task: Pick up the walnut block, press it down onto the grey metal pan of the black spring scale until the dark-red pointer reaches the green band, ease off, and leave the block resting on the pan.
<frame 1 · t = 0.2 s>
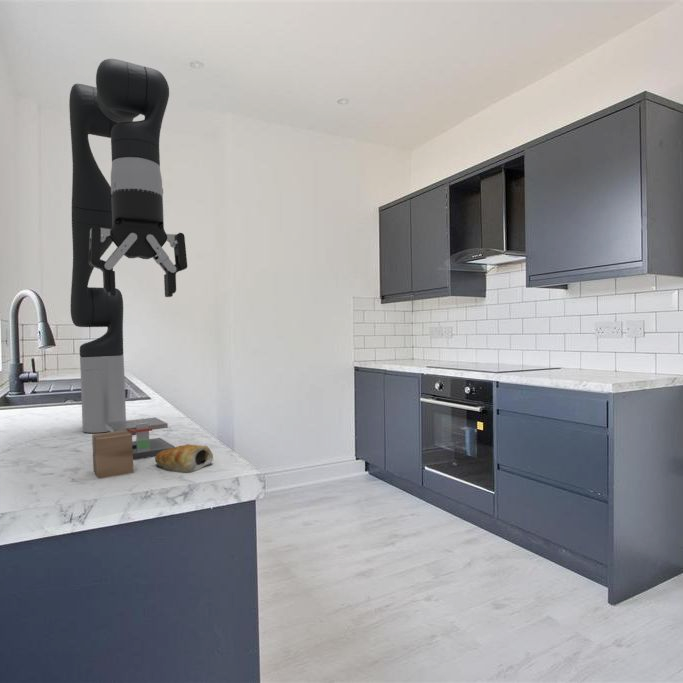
hand: (141, 296, 78), 28 cm above the countertop, tool pointing down, fingers open, 8 cm apart
pastry: (184, 469, 80), on the countertop
walnut block: (113, 472, 77), on the countertop
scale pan: (137, 429, 90), point 4 cm above the countertop, slide at 0.4 cm
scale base: (137, 452, 91), on the countertop
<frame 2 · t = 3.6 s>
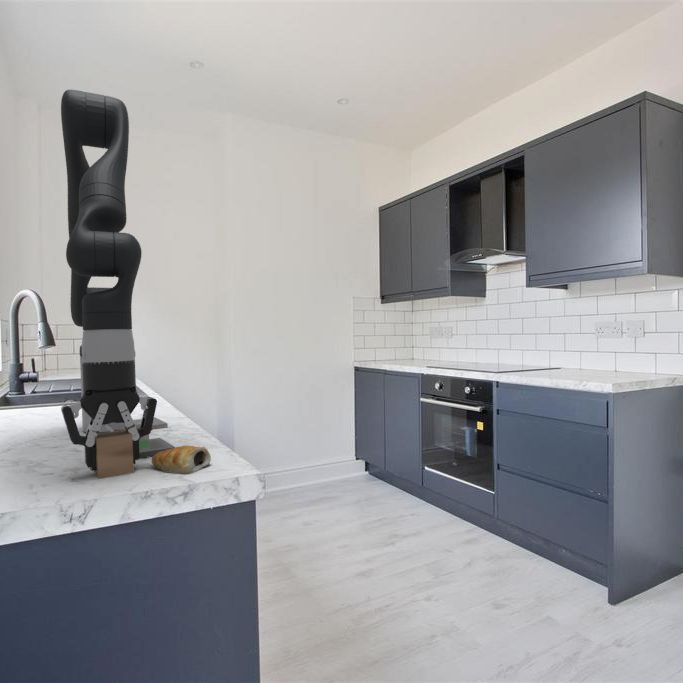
hand: (113, 465, 77), 1 cm above the countertop, tool pointing down, fingers closed on walnut block, 5 cm apart
walnut block: (113, 471, 77), on the countertop, touching gripper
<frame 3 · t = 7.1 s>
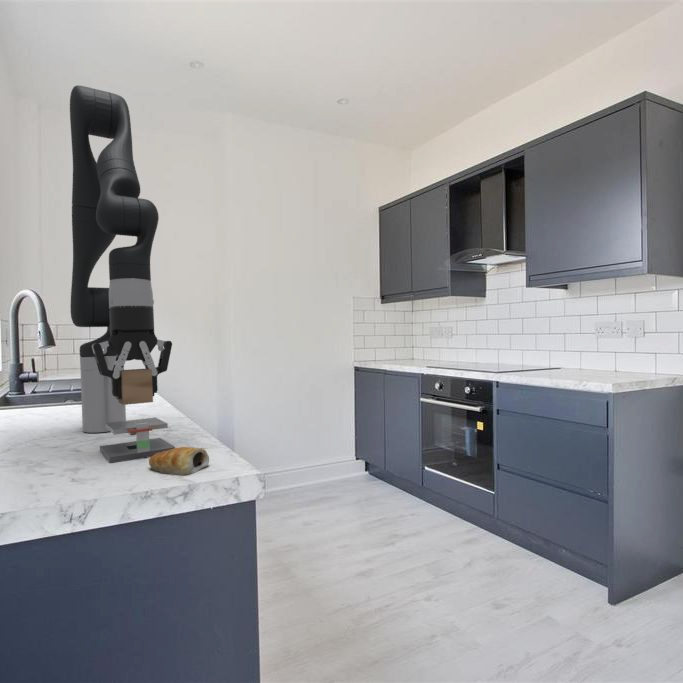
hand: (135, 397, 90), 10 cm above the countertop, tool pointing down, fingers closed on walnut block, 5 cm apart
walnut block: (135, 402, 90), point 9 cm above the countertop, touching gripper
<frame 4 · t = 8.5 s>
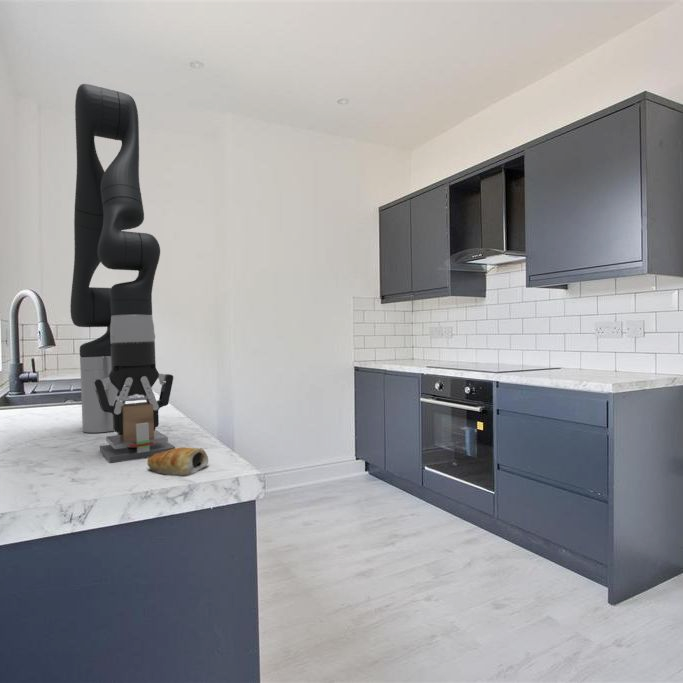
hand: (136, 431, 91), 4 cm above the countertop, tool pointing down, fingers closed on walnut block, 5 cm apart
walnut block: (136, 436, 91), point 3 cm above the countertop, touching gripper, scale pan
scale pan: (137, 442, 90), point 2 cm above the countertop, slide at 2.9 cm, touching walnut block
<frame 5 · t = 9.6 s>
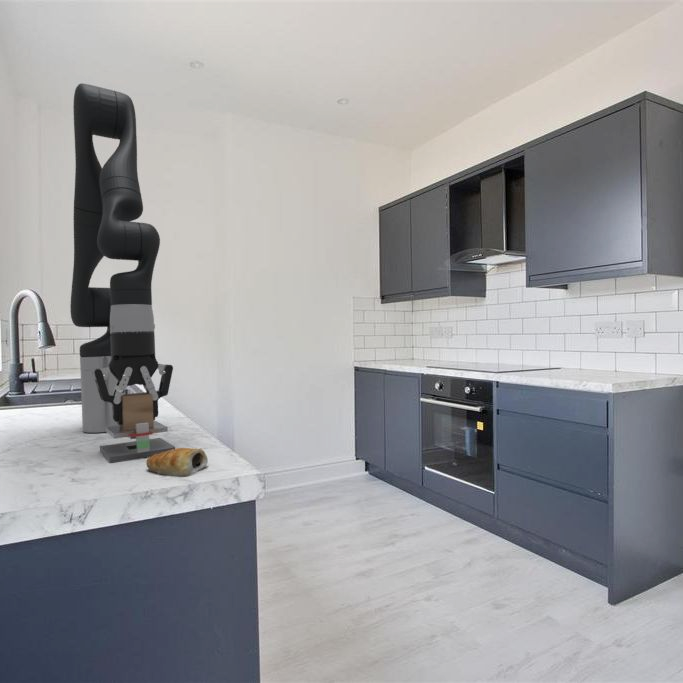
hand: (136, 421, 91), 6 cm above the countertop, tool pointing down, fingers closed on walnut block, 5 cm apart
walnut block: (136, 426, 91), point 5 cm above the countertop, touching gripper, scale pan
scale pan: (137, 432, 90), point 4 cm above the countertop, slide at 1.0 cm, touching walnut block
when the fingers open (6 cm above the countertop, at t = 10.5 s): walnut block stays where it is, resting on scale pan.
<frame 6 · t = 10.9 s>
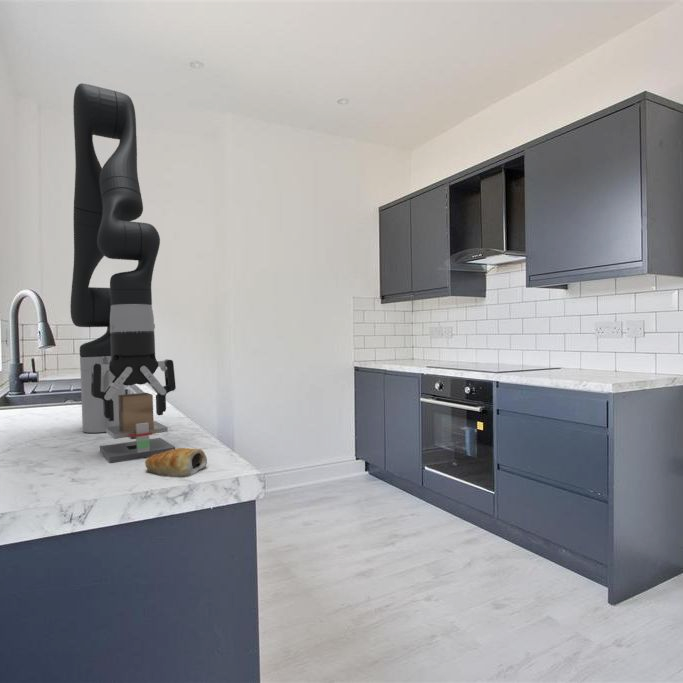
hand: (135, 417, 91), 6 cm above the countertop, tool pointing down, fingers open, 8 cm apart
walnut block: (136, 427, 91), point 5 cm above the countertop, touching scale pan
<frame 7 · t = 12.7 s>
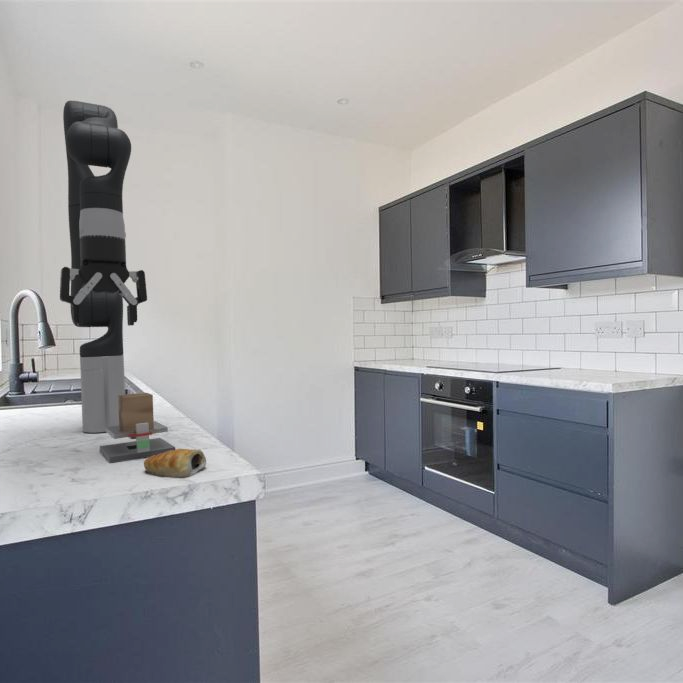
hand: (106, 325, 90), 24 cm above the countertop, tool pointing down, fingers open, 8 cm apart
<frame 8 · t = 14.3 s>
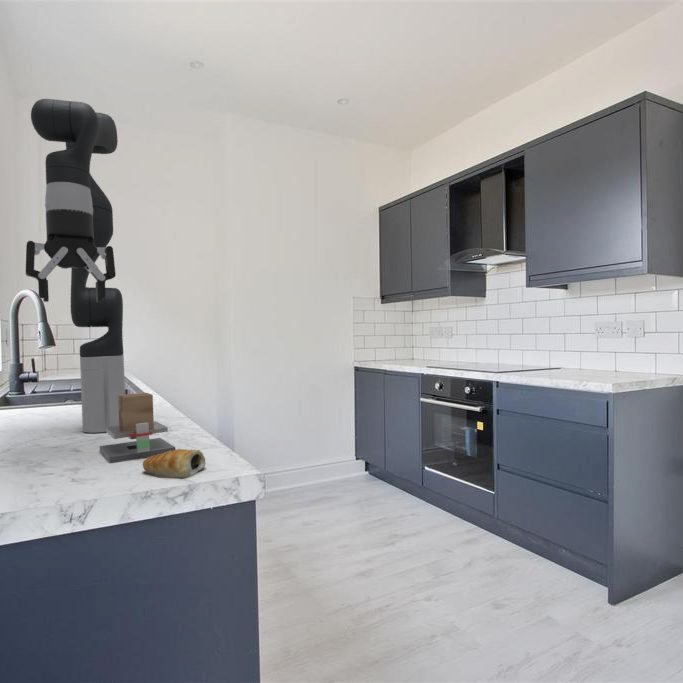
hand: (73, 301, 89), 28 cm above the countertop, tool pointing down, fingers open, 8 cm apart
at the end: walnut block 0.1 cm off-centre on the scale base, point 4.6 cm above the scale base's base; the gripper is holding nothing; walnut block tilted 0° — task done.
